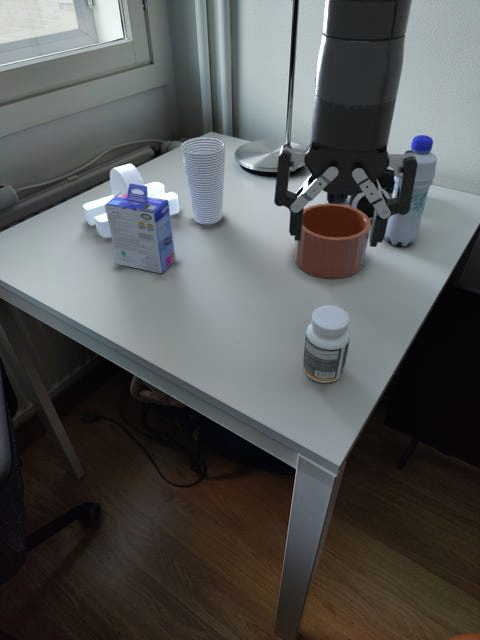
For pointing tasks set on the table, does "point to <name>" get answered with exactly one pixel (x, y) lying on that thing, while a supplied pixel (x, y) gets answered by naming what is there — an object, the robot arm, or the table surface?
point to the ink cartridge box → (141, 230)
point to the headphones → (360, 200)
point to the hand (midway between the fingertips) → (335, 240)
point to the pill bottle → (326, 344)
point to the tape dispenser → (120, 184)
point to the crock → (332, 241)
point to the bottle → (414, 194)
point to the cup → (205, 177)
